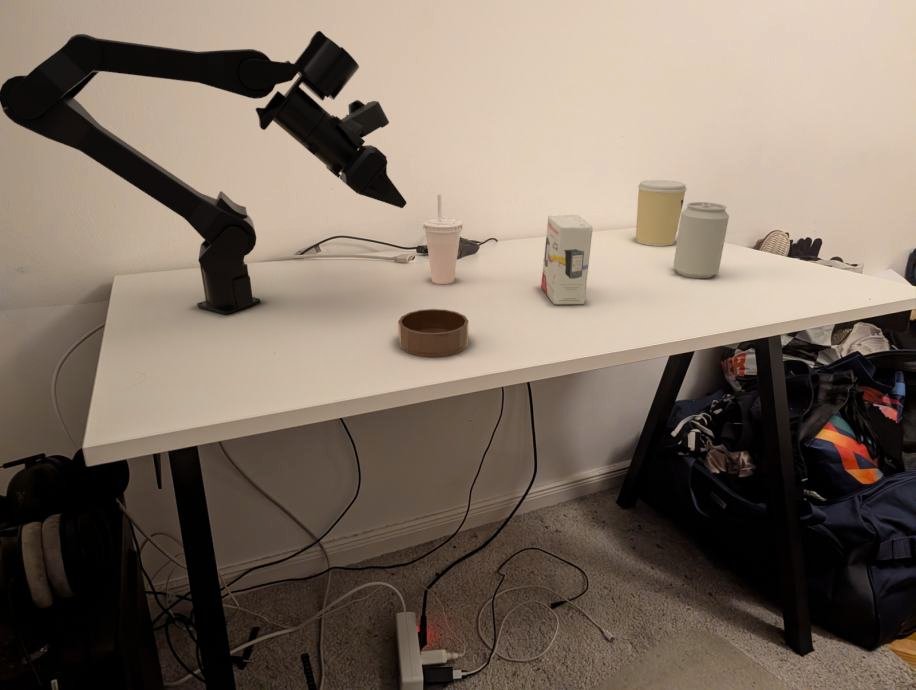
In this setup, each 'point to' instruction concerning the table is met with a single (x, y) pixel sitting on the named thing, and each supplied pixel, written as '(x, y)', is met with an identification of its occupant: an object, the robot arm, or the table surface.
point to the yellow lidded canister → (659, 211)
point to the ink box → (566, 259)
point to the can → (701, 239)
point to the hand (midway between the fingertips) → (396, 200)
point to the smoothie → (442, 246)
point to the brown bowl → (433, 332)
